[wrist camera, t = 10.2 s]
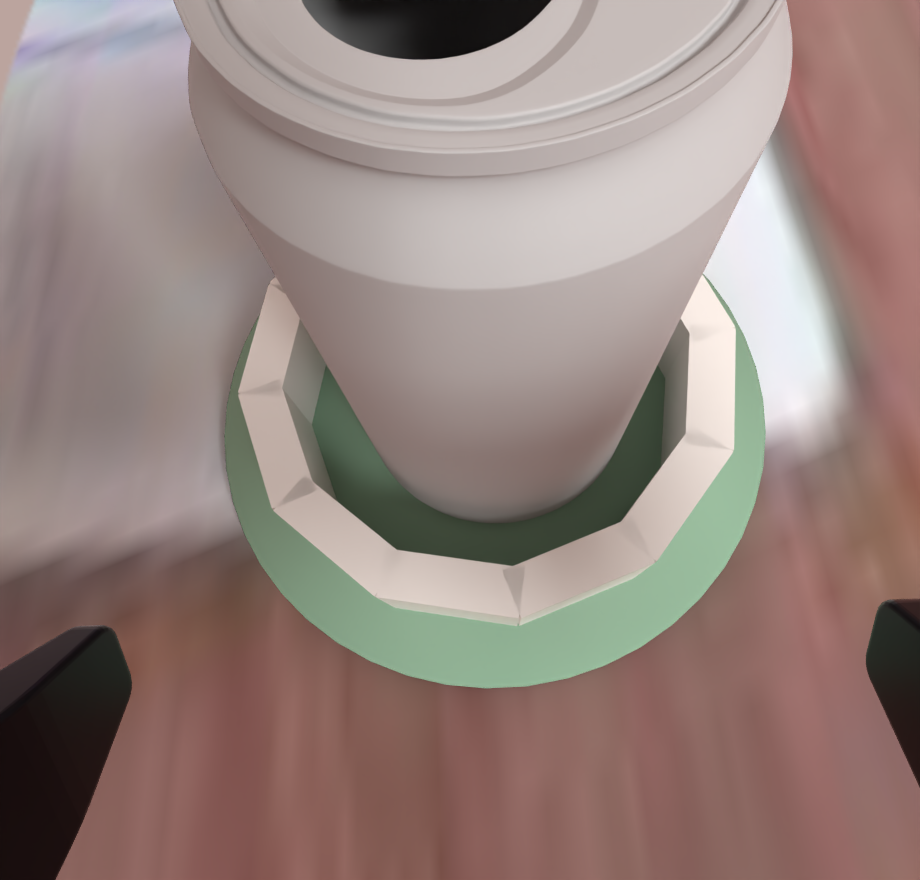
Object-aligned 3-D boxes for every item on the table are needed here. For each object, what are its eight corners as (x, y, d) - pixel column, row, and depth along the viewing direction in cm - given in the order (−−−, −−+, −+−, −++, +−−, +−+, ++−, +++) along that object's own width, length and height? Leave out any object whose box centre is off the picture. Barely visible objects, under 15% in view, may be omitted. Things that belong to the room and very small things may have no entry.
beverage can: (325, 439, 17) (-36, -19, 6) (468, 263, 18) (407, -376, 7) (529, 583, 15) (591, 343, 4) (667, 378, 17) (992, -210, 6)
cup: (756, 733, 15) (815, 749, 12) (169, 638, 16) (98, 632, 13) (757, 217, 19) (800, 138, 16) (298, 182, 21) (265, 104, 18)
